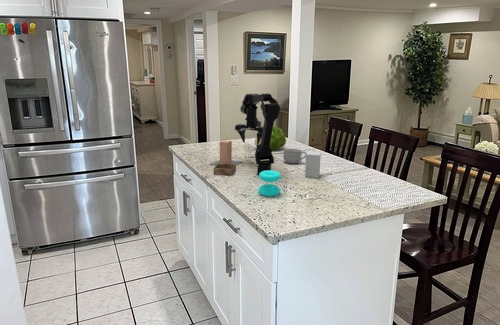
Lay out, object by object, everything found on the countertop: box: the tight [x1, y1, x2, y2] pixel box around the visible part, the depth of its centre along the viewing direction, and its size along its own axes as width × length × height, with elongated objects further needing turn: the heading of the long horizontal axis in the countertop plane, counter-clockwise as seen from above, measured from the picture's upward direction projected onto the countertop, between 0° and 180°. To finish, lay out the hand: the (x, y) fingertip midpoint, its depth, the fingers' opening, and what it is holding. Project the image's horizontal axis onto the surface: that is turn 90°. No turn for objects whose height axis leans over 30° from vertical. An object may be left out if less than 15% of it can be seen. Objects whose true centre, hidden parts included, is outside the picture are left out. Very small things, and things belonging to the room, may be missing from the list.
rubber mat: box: [209, 159, 243, 167], centre depth 221 cm, size 14×14×1 cm
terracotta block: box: [219, 139, 233, 164], centre depth 219 cm, size 5×5×13 cm
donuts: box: [258, 169, 282, 197], centre depth 172 cm, size 10×10×10 cm
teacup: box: [282, 148, 307, 165], centre depth 224 cm, size 14×11×8 cm
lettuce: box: [254, 126, 287, 151], centre depth 255 cm, size 16×21×15 cm
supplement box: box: [304, 150, 322, 179], centre depth 199 cm, size 7×7×13 cm
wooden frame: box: [213, 163, 237, 177], centre depth 203 cm, size 10×10×4 cm
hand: (251, 143), depth 215 cm, fingers open, 9 cm apart
